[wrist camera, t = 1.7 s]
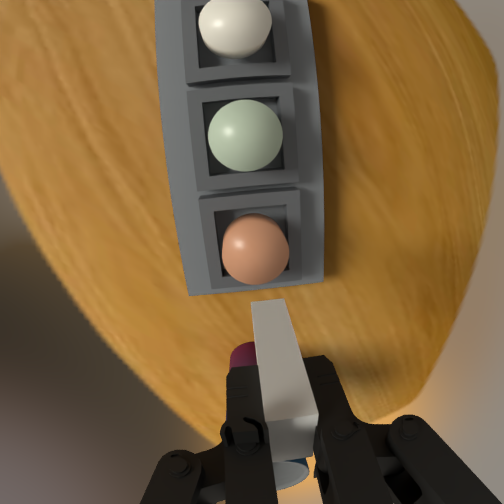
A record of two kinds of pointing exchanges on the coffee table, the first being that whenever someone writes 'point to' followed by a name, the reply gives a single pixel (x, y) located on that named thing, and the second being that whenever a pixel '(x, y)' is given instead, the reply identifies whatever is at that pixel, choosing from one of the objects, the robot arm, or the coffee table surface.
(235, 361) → the cup
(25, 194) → the coffee table surface
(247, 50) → the button cream
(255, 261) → the button rust
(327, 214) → the coffee table surface
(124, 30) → the coffee table surface
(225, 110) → the button sage
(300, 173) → the panel
